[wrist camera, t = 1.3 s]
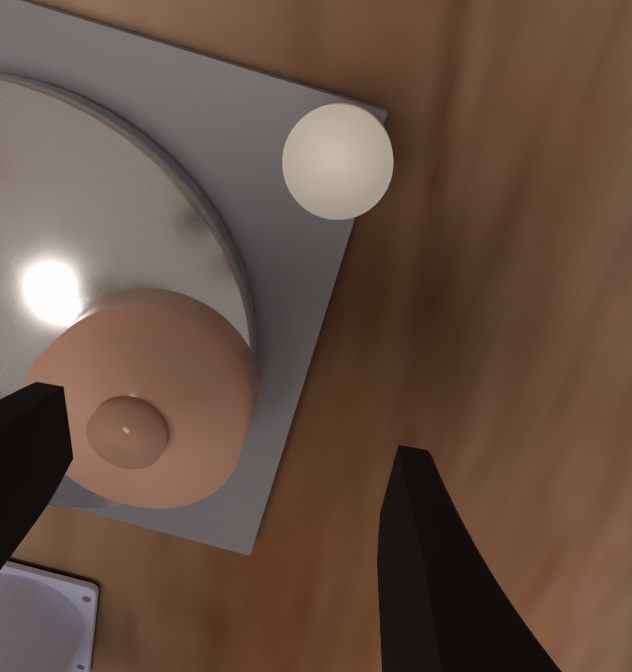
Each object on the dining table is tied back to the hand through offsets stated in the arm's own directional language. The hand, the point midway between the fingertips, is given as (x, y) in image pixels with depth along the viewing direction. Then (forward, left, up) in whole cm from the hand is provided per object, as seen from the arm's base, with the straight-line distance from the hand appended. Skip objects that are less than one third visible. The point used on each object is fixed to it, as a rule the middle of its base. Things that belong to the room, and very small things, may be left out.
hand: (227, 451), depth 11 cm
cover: (-4, +3, -7) cm, 9 cm away
